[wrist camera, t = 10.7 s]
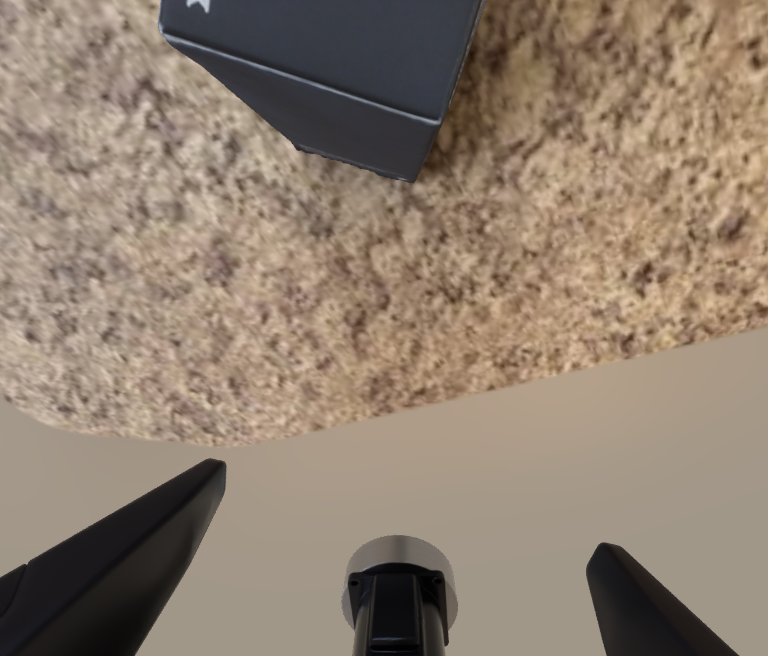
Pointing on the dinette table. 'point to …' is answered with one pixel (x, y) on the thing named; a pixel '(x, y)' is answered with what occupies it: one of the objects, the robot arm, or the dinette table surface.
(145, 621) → the robot arm
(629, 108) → the dinette table surface
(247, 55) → the small box
